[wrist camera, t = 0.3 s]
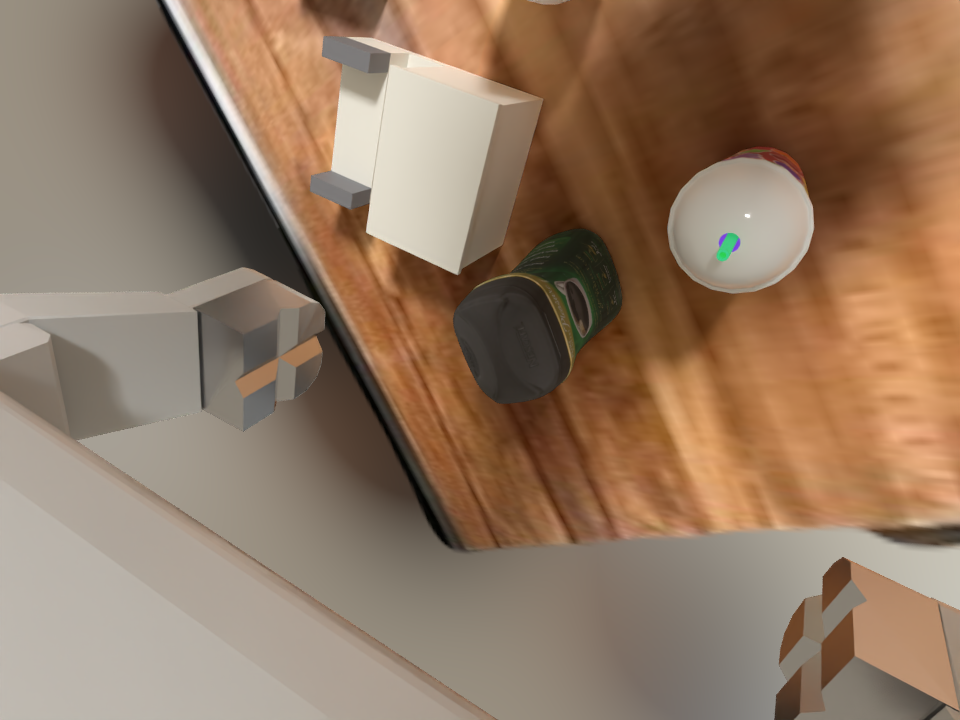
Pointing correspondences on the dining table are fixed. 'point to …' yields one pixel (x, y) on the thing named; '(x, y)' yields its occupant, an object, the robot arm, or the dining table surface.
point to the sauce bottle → (549, 1)
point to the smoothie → (742, 221)
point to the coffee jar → (538, 316)
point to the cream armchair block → (426, 151)
